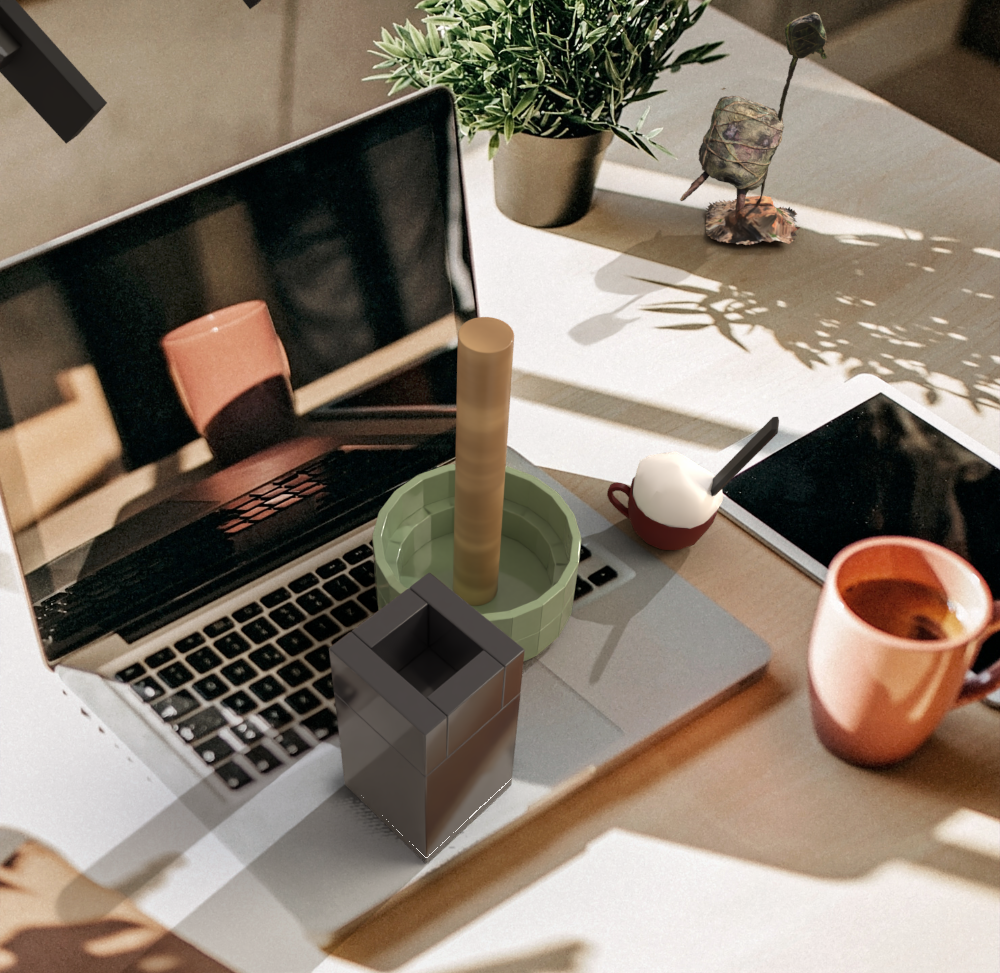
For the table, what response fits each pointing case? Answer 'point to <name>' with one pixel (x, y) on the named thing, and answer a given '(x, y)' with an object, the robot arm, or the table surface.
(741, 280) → the table surface
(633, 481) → the cocoa
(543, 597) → the bowl
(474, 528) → the stirring stick
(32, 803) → the table surface
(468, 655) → the box
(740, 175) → the bird figurine
